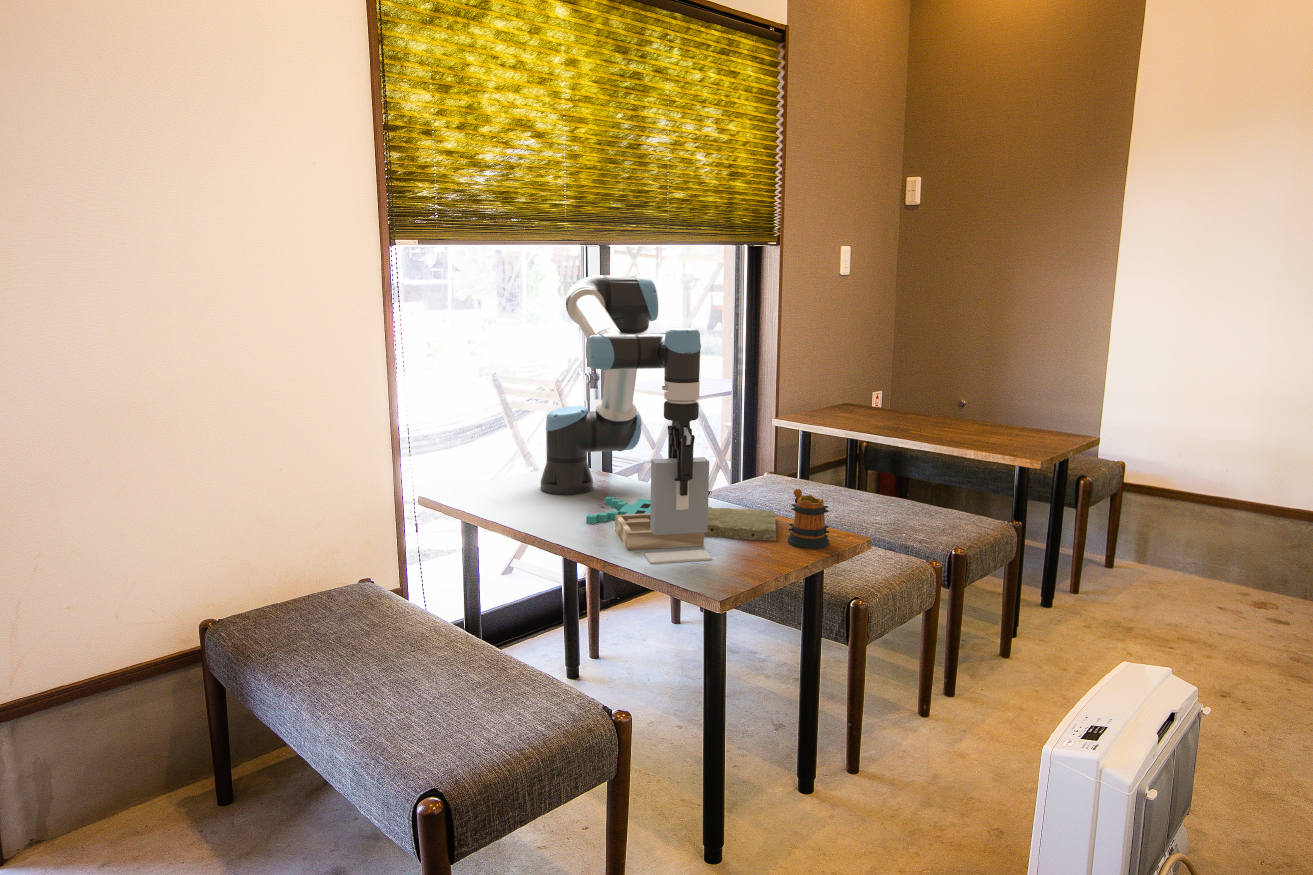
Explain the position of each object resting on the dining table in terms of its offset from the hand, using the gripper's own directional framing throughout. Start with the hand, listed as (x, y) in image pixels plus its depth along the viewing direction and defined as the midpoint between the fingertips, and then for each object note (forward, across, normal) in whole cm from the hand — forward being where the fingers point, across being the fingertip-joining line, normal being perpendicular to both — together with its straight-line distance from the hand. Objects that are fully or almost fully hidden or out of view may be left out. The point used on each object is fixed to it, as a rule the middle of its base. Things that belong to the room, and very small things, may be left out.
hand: (679, 506), depth 193 cm
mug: (+12, -6, +33) cm, 35 cm away
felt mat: (+12, 0, 0) cm, 12 cm away
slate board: (+6, 0, 0) cm, 6 cm away
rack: (+12, -15, -1) cm, 19 cm away
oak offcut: (+12, -19, -5) cm, 23 cm away
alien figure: (+12, -35, -2) cm, 37 cm away
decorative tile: (+13, -19, +20) cm, 30 cm away
